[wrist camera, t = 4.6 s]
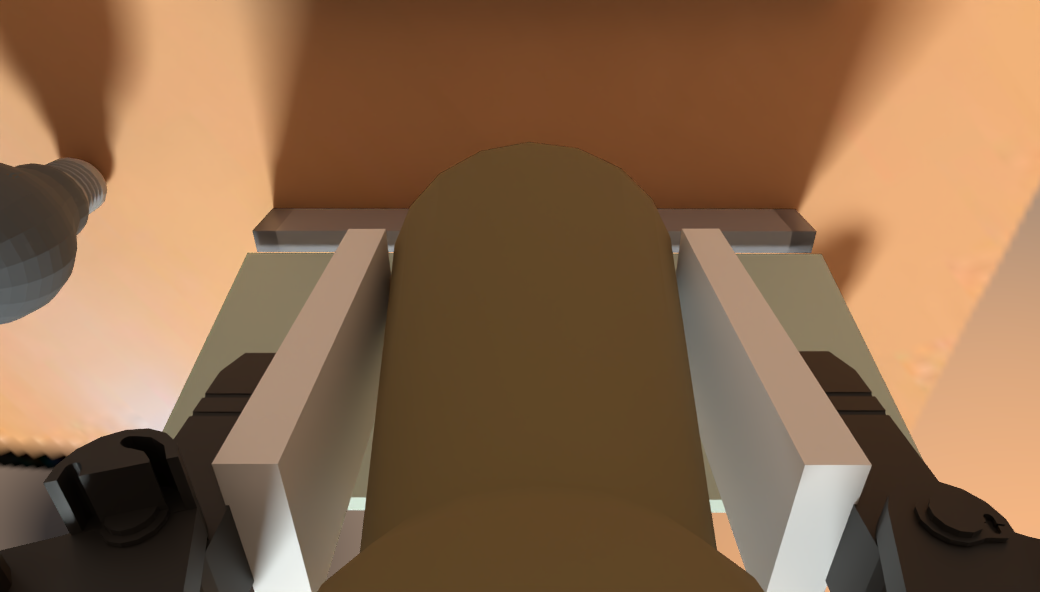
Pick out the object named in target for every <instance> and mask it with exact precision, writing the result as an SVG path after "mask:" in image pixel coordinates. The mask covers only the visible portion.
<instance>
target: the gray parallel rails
mask: <svg viewBox="0 0 1040 592" xmlns="http://www.w3.org/2000/svg"><path fill="white" fill-rule="evenodd" d="M408 210H409V209H322V208H273V209H272V210H271V211H270V212H269V213H268V214H267V215H266V217H265V218H264V219H263V220H262V221H261V222H260V223H259V224H258V225H257V226H256V227H255V229H254V230H253V235H254V239H255V243H256V248H257V252H335V251H336V250H337V248H338V246H339V244H340V243H341V241H342V239H343V238H344V236H345V234H346V232H347V231H348V229H386V236H387V244H388V252H394V245H395V242H396V240H397V237H398V235H399V233H400V230H401V228H402V225H403V223H404V220H405V218H406V215H407V213H408ZM657 210H658V212H659V214H660V216H661V218H662V220H663V223H664V225H665V227H666V229H667V231H668V233H669V235H670V238H671V244H672V251H673V252H679V247H680V239H681V232H682V229H720V231H721V232H722V234H723V235H724V237H725V238H726V240H727V241H728V243H729V244H730V246H731V248H732V249H733V251H734V252H735V253H811V251H812V247H813V243H814V239H815V235H816V231H815V229H814V228H813V227H812V226H811V225H810V224H809V223H808V222H807V221H806V220H805V219H804V218H803V217H802V216H801V215H800V214H799V213H798V212H797V211H796V209H657Z"/></svg>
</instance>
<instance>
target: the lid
mask: <svg viewBox="0 0 1040 592" xmlns="http://www.w3.org/2000/svg"><path fill="white" fill-rule="evenodd" d="M393 254H394V253H389V261H390V270H391V272H392V263H393ZM333 255H334V253H247V255H246V257H245V259H244V262H243V264H242V266H241V268H240V270H239V272H238V274H237V276H236V278H235V280H234V283H233V285H232V287H231V289H230V291H229V293H228V295H227V297H226V299H225V301H224V304H223V306H222V308H221V310H220V312H219V314H218V316H217V318H216V320H215V322H214V325H213V327H212V329H211V331H210V333H209V335H208V337H207V339H206V341H205V343H204V346H203V348H202V350H201V352H200V354H199V356H198V358H197V360H196V362H195V364H194V367H193V369H192V371H191V373H190V375H189V377H188V379H187V381H186V383H185V385H184V388H183V390H182V392H181V394H180V396H179V398H178V400H177V402H176V404H175V406H174V409H173V411H172V413H171V415H170V417H169V419H168V421H167V423H166V425H165V427H164V430H163V432H165V433H167V434H168V435H169V436H170V437H171V438H172V439H174V438H175V436H176V435H177V433H178V432H179V431H180V429H181V428H182V426H183V425H184V423H185V422H186V420H187V419H188V417H189V416H192V415H193V410H194V409H195V407H196V406H197V404H198V403H199V401H200V400H201V398H205V393H206V391H207V390H208V388H209V387H210V385H211V384H212V382H213V381H214V379H215V378H216V377H217V375H218V374H219V372H220V371H221V370H223V369H224V368H225V367H227V366H228V365H229V364H231V363H232V362H233V361H235V360H236V359H237V358H239V357H240V356H241V355H243V354H244V353H277V351H278V349H279V347H280V346H281V344H282V342H283V341H284V339H285V337H286V335H287V334H288V332H289V330H290V329H291V327H292V325H293V323H294V322H295V320H296V318H297V317H298V315H299V313H300V311H301V310H302V308H303V306H304V304H305V303H306V301H307V299H308V298H309V296H310V294H311V292H312V291H313V289H314V287H315V286H316V284H317V282H318V280H319V279H320V277H321V275H322V274H323V272H324V270H325V268H326V267H327V265H328V263H329V262H330V260H331V258H332V256H333ZM736 255H737V257H738V258H739V260H740V262H741V263H742V265H743V266H744V268H745V269H746V271H747V272H748V274H749V275H750V277H751V279H752V280H753V282H754V283H755V285H756V286H757V288H758V289H759V291H760V293H761V294H762V296H763V297H764V299H765V300H766V302H767V303H768V305H769V306H770V308H771V310H772V311H773V313H774V314H775V316H776V317H777V319H778V320H779V322H780V324H781V325H782V327H783V328H784V330H785V331H786V333H787V334H788V336H789V337H790V339H791V341H792V342H793V344H794V345H795V347H796V348H797V350H798V351H829V352H831V353H832V354H834V355H835V356H836V357H838V358H839V359H841V360H842V361H843V362H845V363H846V364H848V365H849V366H851V367H852V368H853V369H855V370H856V371H857V373H858V374H859V375H860V377H861V378H862V379H863V381H864V382H865V383H866V385H867V386H868V387H869V389H870V390H871V391H872V396H875V397H876V398H877V399H878V401H879V402H880V403H881V405H882V406H883V408H884V409H885V410H886V411H885V413H886V415H889V416H890V417H891V418H892V420H893V421H894V422H895V424H896V425H897V426H898V428H899V429H900V430H901V432H902V433H903V434H904V436H905V437H906V438H907V440H908V441H909V442H910V444H911V445H912V446H913V448H914V449H915V450H916V452H917V453H918V454H919V456H920V457H921V455H920V453H919V451H918V449H917V447H916V445H915V443H914V441H913V439H912V437H911V435H910V433H909V431H908V429H907V427H906V424H905V422H904V420H903V418H902V416H901V414H900V412H899V410H898V408H897V406H896V404H895V402H894V400H893V398H892V396H891V394H890V392H889V390H888V388H887V386H886V384H885V382H884V380H883V378H882V376H881V374H880V372H879V370H878V368H877V366H876V364H875V362H874V359H873V357H872V355H871V353H870V351H869V349H868V347H867V345H866V343H865V341H864V339H863V337H862V335H861V333H860V331H859V329H858V327H857V325H856V323H855V321H854V319H853V317H852V315H851V313H850V311H849V309H848V307H847V305H846V303H845V301H844V299H843V297H842V294H841V292H840V290H839V288H838V286H837V284H836V282H835V280H834V278H833V276H832V274H831V272H830V270H829V268H828V266H827V264H826V262H825V260H824V258H823V256H822V254H736ZM673 258H674V265H675V271H676V269H677V261H678V254H673ZM374 424H375V420H374ZM374 424H373V427H372V430H371V433H370V437H369V440H368V443H367V447H366V450H365V453H364V456H363V460H362V463H361V466H360V470H359V473H358V476H357V480H356V483H355V486H354V489H353V493H352V496H351V499H350V503H349V506H348V509H347V510H365V504H366V495H367V486H368V477H369V468H370V459H371V450H372V441H373V432H374ZM700 440H701V438H700ZM701 446H702V453H703V460H704V467H705V473H706V480H707V487H708V494H709V500H710V507H711V512H716V513H717V512H720V513H723V512H724V513H726V511H725V508H724V505H723V502H722V499H721V496H720V493H719V491H718V488H717V485H716V482H715V479H714V476H713V473H712V470H711V467H710V464H709V461H708V459H707V456H706V453H705V450H704V447H703V444H702V441H701ZM921 458H922V457H921ZM922 460H923V459H922Z"/></svg>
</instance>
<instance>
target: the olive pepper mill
mask: <svg viewBox="0 0 1040 592" xmlns="http://www.w3.org/2000/svg"><path fill="white" fill-rule="evenodd" d="M317 592H764V591H763V589H762V588H761V586H760V585H759V583H758V582H757V580H756V579H755V578H754V577H753V576H752V575H750V574H749V573H747V572H746V571H745V570H743V569H742V568H741V567H739V566H738V565H736V564H735V563H734V562H732V561H731V560H730V559H728V558H727V557H726V556H724V555H723V554H721V553H720V552H719V551H717V547H716V541H715V534H714V527H713V521H712V514H711V507H710V500H709V494H708V487H707V480H706V473H705V467H704V460H703V453H702V446H701V440H700V433H699V426H698V419H697V413H696V406H695V399H694V393H693V386H692V379H691V372H690V366H689V359H688V352H687V345H686V339H685V332H684V325H683V319H682V312H681V305H680V298H679V292H678V285H677V278H676V271H675V265H674V258H673V251H672V244H671V238H670V235H669V233H668V231H667V229H666V227H665V225H664V223H663V220H662V218H661V216H660V214H659V212H658V210H657V208H656V206H655V204H654V202H653V200H652V198H651V197H649V196H648V195H647V194H646V193H645V192H644V191H643V190H642V189H641V188H640V187H639V186H638V185H637V184H636V183H635V182H634V181H633V180H632V179H631V178H630V177H629V176H628V175H627V174H626V173H625V172H624V171H623V170H622V169H621V168H619V167H617V166H615V165H613V164H610V163H608V162H606V161H604V160H602V159H600V158H598V157H595V156H593V155H591V154H589V153H587V152H585V151H583V150H581V149H578V148H573V147H565V146H557V145H548V144H540V143H532V142H527V143H521V144H516V145H511V146H506V147H500V148H495V149H490V150H484V151H480V152H478V153H477V154H475V155H473V156H471V157H469V158H468V159H466V160H464V161H462V162H460V163H458V164H457V165H455V166H453V167H451V168H449V169H448V170H446V171H444V172H442V173H440V174H439V175H438V176H437V177H436V178H435V180H434V181H433V182H432V183H431V184H430V185H429V186H428V187H427V188H426V189H425V191H424V192H423V193H422V194H421V195H420V196H419V197H418V198H417V199H416V200H415V202H414V203H413V204H412V205H411V206H410V208H409V210H408V213H407V215H406V218H405V220H404V223H403V225H402V228H401V230H400V233H399V235H398V237H397V240H396V242H395V245H394V254H393V263H392V272H391V281H390V290H389V299H388V308H387V317H386V326H385V334H384V343H383V352H382V361H381V370H380V379H379V388H378V397H377V406H376V415H375V424H374V432H373V441H372V450H371V459H370V468H369V477H368V486H367V495H366V504H365V514H364V523H363V531H362V540H361V548H360V554H358V555H357V556H356V557H355V558H353V559H352V560H351V561H350V562H349V563H347V564H346V565H345V566H344V567H342V568H341V569H340V570H339V571H338V572H336V573H335V574H334V575H333V576H331V577H330V578H329V579H328V580H327V581H325V582H324V583H323V584H322V585H321V586H320V588H319V590H318V591H317Z"/></svg>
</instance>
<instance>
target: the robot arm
mask: <svg viewBox="0 0 1040 592" xmlns="http://www.w3.org/2000/svg"><path fill="white" fill-rule="evenodd" d="M676 278H677V285H678V292H679V298H680V305H681V312H682V319H683V325H684V332H685V339H686V345H687V352H688V359H689V366H690V372H691V379H692V386H693V393H694V399H695V406H696V413H697V419H698V426H699V433H700V438H701V441H702V444H703V447H704V450H705V453H706V456H707V459H708V461H709V464H710V467H711V470H712V473H713V476H714V479H715V482H716V485H717V488H718V491H719V493H720V496H721V499H722V502H723V505H724V508H725V511H726V514H727V516H728V520H729V523H730V525H731V528H732V531H733V534H734V537H735V540H736V543H737V546H738V549H739V551H740V555H741V557H742V560H743V563H744V566H745V569H746V572H747V573H749V574H750V575H752V576H753V577H754V578H755V579H756V580H757V582H758V583H759V585H760V586H761V588H762V589H763V591H764V592H824V591H825V589H826V586H828V587H829V590H830V592H1040V539H1036V538H1032V537H1028V536H1025V535H1021V534H1018V533H1015V532H1014V531H1013V529H1012V528H1011V526H1010V525H1009V523H1008V522H1007V520H1006V519H1005V518H1004V517H1003V516H1002V515H1000V514H999V513H998V512H997V511H996V510H995V509H993V508H992V507H991V506H990V505H989V504H988V503H986V502H985V501H983V500H981V499H979V498H977V497H975V496H974V495H972V494H970V493H968V492H967V491H965V490H963V489H960V488H957V487H954V486H951V485H948V484H944V483H941V482H939V481H938V480H937V479H936V477H935V476H934V475H933V473H932V472H931V470H930V469H929V468H928V466H927V465H926V464H925V463H924V461H923V460H922V458H921V457H920V456H919V454H918V453H917V452H916V450H915V449H914V448H913V446H912V445H911V444H910V442H909V441H908V440H907V438H906V437H905V436H904V434H903V433H902V432H901V430H900V429H899V428H898V426H897V425H896V424H895V422H894V421H893V420H892V418H891V417H890V416H889V415H886V413H885V411H886V410H885V409H884V408H883V406H882V405H881V403H880V402H879V401H878V399H877V398H876V397H875V396H872V391H871V390H870V389H869V387H868V386H867V385H866V383H865V382H864V381H863V379H862V378H861V377H860V375H859V374H858V373H857V371H856V370H855V369H853V368H852V367H851V366H849V365H848V364H846V363H845V362H843V361H842V360H841V359H839V358H838V357H836V356H835V355H834V354H832V353H831V352H829V351H798V350H797V348H796V347H795V345H794V344H793V342H792V341H791V339H790V337H789V336H788V334H787V333H786V331H785V330H784V328H783V327H782V325H781V324H780V322H779V320H778V319H777V317H776V316H775V314H774V313H773V311H772V310H771V308H770V306H769V305H768V303H767V302H766V300H765V299H764V297H763V296H762V294H761V293H760V291H759V289H758V288H757V286H756V285H755V283H754V282H753V280H752V279H751V277H750V275H749V274H748V272H747V271H746V269H745V268H744V266H743V265H742V263H741V262H740V260H739V258H738V257H737V255H736V254H735V252H734V251H733V249H732V248H731V246H730V244H729V243H728V241H727V240H726V238H725V237H724V235H723V234H722V232H721V231H720V229H682V232H681V239H680V247H679V254H678V261H677V269H676ZM390 281H391V270H390V261H389V253H388V244H387V236H386V229H348V231H347V232H346V234H345V236H344V238H343V239H342V241H341V243H340V244H339V246H338V248H337V250H336V251H335V253H334V255H333V256H332V258H331V260H330V262H329V263H328V265H327V267H326V268H325V270H324V272H323V274H322V275H321V277H320V279H319V280H318V282H317V284H316V286H315V287H314V289H313V291H312V292H311V294H310V296H309V298H308V299H307V301H306V303H305V304H304V306H303V308H302V310H301V311H300V313H299V315H298V317H297V318H296V320H295V322H294V323H293V325H292V327H291V329H290V330H289V332H288V334H287V335H286V337H285V339H284V341H283V342H282V344H281V346H280V347H279V349H278V351H277V353H244V354H243V355H241V356H240V357H239V358H237V359H236V360H235V361H233V362H232V363H231V364H229V365H228V366H227V367H225V368H224V369H223V370H221V371H220V372H219V374H218V375H217V377H216V378H215V379H214V381H213V382H212V384H211V385H210V387H209V388H208V390H207V391H206V393H205V398H201V400H200V401H199V403H198V404H197V406H196V407H195V409H194V410H193V415H192V416H189V417H188V419H187V420H186V422H185V423H184V425H183V426H182V428H181V429H180V431H179V432H178V433H177V435H176V436H175V438H174V439H172V438H171V437H170V436H169V435H168V434H167V433H165V432H161V431H157V430H152V429H134V430H124V431H121V432H117V433H114V434H110V435H107V436H103V437H100V438H98V439H96V440H94V441H92V442H90V443H88V444H86V445H84V446H82V447H80V448H78V449H76V450H75V451H74V452H72V453H71V454H70V455H69V456H67V457H66V458H65V459H64V460H62V461H61V462H60V463H59V464H57V465H56V466H55V468H54V469H53V470H52V472H51V473H50V474H49V476H48V477H47V479H46V480H45V481H44V485H45V487H46V489H47V491H48V493H49V495H50V496H51V498H52V500H53V502H54V504H55V506H56V507H57V510H58V512H59V513H60V515H61V517H62V519H63V521H64V523H65V525H66V527H67V529H68V531H69V534H65V535H62V536H58V537H54V538H50V539H46V540H42V541H38V542H34V543H30V544H26V545H22V546H18V547H13V548H10V549H5V550H1V551H0V592H250V590H251V588H252V585H253V588H254V591H255V592H317V591H318V590H319V588H320V586H321V585H322V584H323V583H324V582H325V581H326V578H327V575H328V572H329V568H330V565H331V562H332V558H333V555H334V552H335V549H336V545H337V542H338V539H339V536H340V532H341V529H342V525H343V522H344V519H345V515H346V512H347V509H348V506H349V503H350V499H351V496H352V493H353V489H354V486H355V483H356V480H357V476H358V473H359V470H360V466H361V463H362V460H363V456H364V453H365V450H366V447H367V443H368V440H369V437H370V433H371V430H372V427H373V424H374V420H375V415H376V406H377V397H378V388H379V379H380V370H381V361H382V352H383V343H384V334H385V326H386V317H387V308H388V299H389V290H390Z"/></svg>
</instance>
